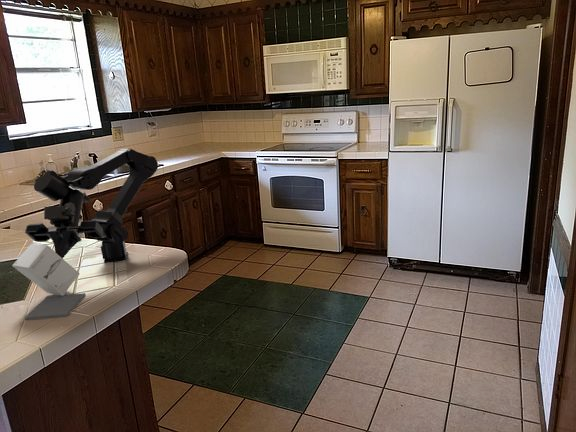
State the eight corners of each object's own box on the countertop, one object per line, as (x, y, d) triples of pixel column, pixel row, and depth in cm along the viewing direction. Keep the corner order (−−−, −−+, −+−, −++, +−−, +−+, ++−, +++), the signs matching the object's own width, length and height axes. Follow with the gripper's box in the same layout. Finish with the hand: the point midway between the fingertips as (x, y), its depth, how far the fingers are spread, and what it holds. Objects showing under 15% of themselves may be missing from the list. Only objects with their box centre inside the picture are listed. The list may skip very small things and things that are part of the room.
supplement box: (63, 297, 114) (27, 268, 106) (46, 293, 118) (10, 265, 110) (81, 273, 118) (47, 244, 110) (64, 270, 122) (30, 242, 114)
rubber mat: (47, 298, 116) (46, 296, 116) (85, 295, 116) (85, 293, 116) (25, 319, 105) (24, 317, 105) (67, 316, 105) (66, 313, 105)
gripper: (21, 195, 117) (5, 248, 109) (91, 190, 117) (81, 243, 109) (42, 216, 126) (29, 266, 119) (107, 212, 127) (99, 261, 119)
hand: (59, 259), depth 116 cm, fingers closed
